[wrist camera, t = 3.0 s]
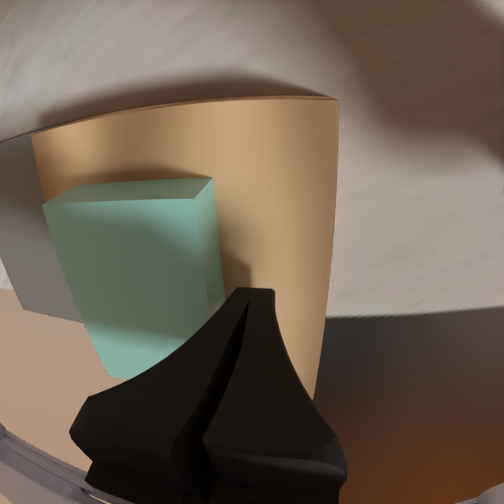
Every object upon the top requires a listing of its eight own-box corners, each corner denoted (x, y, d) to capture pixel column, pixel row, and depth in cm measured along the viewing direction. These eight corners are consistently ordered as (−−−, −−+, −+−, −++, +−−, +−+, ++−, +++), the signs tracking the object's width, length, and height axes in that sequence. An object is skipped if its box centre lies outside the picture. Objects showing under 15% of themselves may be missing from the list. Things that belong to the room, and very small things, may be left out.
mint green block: (212, 177, 10) (193, 198, 9) (233, 364, 15) (225, 397, 13) (73, 185, 11) (42, 205, 10) (125, 348, 16) (109, 375, 14)
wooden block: (328, 96, 12) (338, 100, 8) (314, 346, 19) (312, 399, 15) (83, 118, 14) (30, 135, 10) (135, 329, 21) (109, 371, 17)
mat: (83, 118, 14) (80, 119, 14) (135, 329, 21) (133, 332, 20) (-27, 152, 16) (-30, 153, 15) (25, 307, 23) (23, 309, 22)
